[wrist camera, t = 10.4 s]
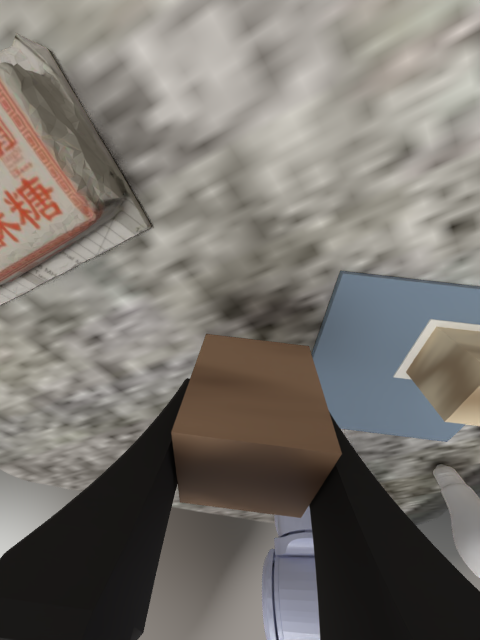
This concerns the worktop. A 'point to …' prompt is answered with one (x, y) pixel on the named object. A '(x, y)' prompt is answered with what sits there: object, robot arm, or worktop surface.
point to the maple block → (450, 374)
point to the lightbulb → (462, 514)
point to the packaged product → (53, 176)
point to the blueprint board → (386, 350)
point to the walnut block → (253, 428)
